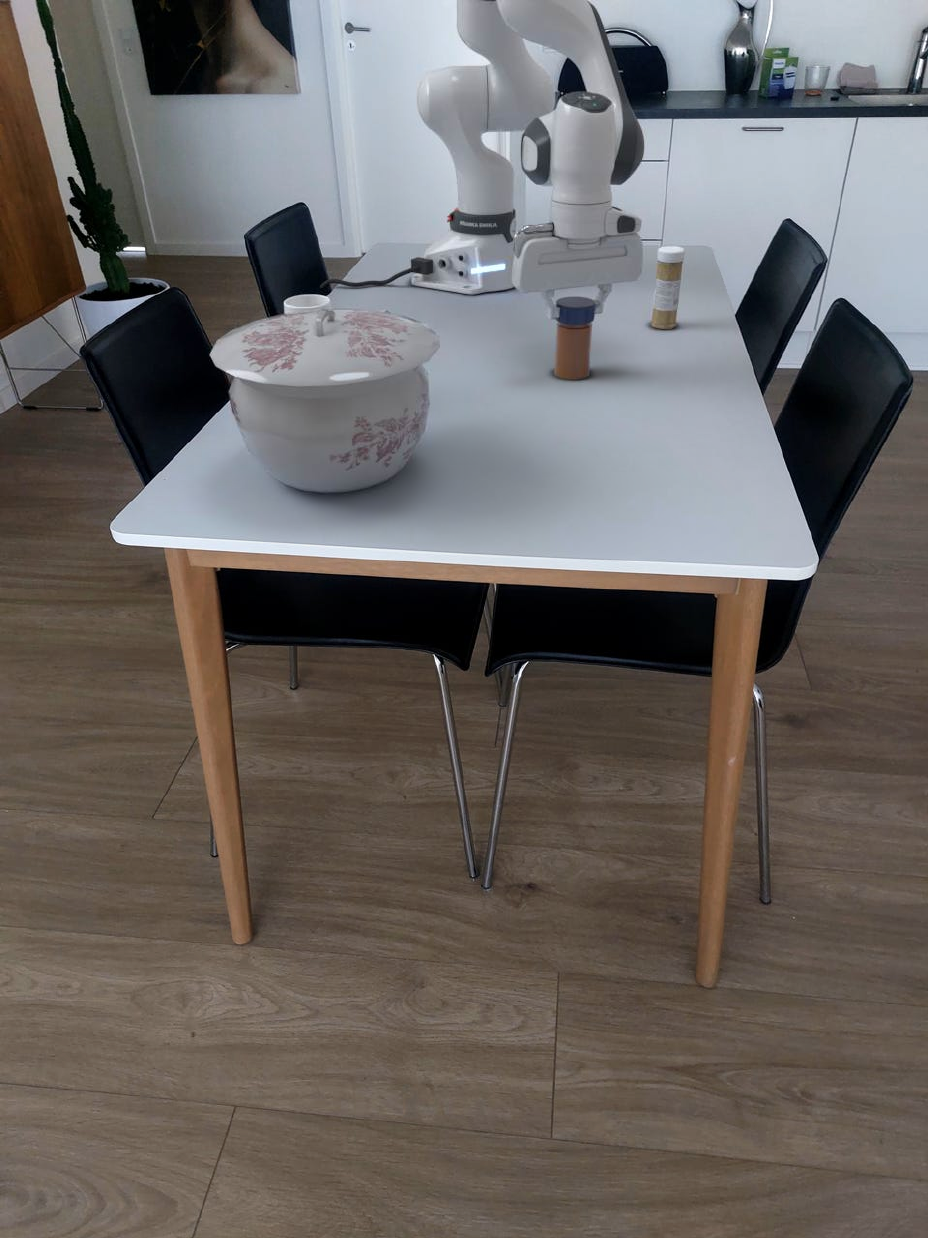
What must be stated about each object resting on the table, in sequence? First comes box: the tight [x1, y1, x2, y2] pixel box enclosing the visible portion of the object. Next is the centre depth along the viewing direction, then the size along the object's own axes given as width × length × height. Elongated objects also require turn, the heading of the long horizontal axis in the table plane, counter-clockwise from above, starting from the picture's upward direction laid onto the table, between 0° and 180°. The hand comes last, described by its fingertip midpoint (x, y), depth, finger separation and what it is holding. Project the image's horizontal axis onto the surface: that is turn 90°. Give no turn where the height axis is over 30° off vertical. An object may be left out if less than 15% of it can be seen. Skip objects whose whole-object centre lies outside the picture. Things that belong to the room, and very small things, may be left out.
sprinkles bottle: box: [650, 245, 686, 330], centre depth 167 cm, size 5×5×14 cm
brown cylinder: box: [554, 322, 593, 381], centre depth 149 cm, size 6×6×10 cm
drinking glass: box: [283, 294, 333, 314], centre depth 139 cm, size 7×7×15 cm
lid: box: [555, 295, 596, 325], centre depth 146 cm, size 6×6×3 cm
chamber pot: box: [209, 307, 441, 494], centre depth 118 cm, size 28×28×21 cm
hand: (574, 315), depth 146 cm, fingers closed on lid, 6 cm apart
